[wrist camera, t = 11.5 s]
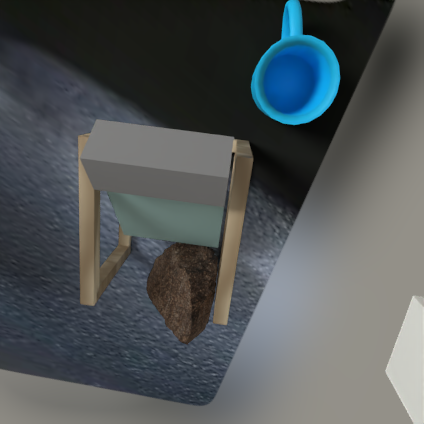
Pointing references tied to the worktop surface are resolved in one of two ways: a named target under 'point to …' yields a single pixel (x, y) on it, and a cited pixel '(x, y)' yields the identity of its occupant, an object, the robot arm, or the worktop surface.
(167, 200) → the trapdoor
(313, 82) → the mug
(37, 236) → the worktop surface
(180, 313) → the rock
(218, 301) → the frame
